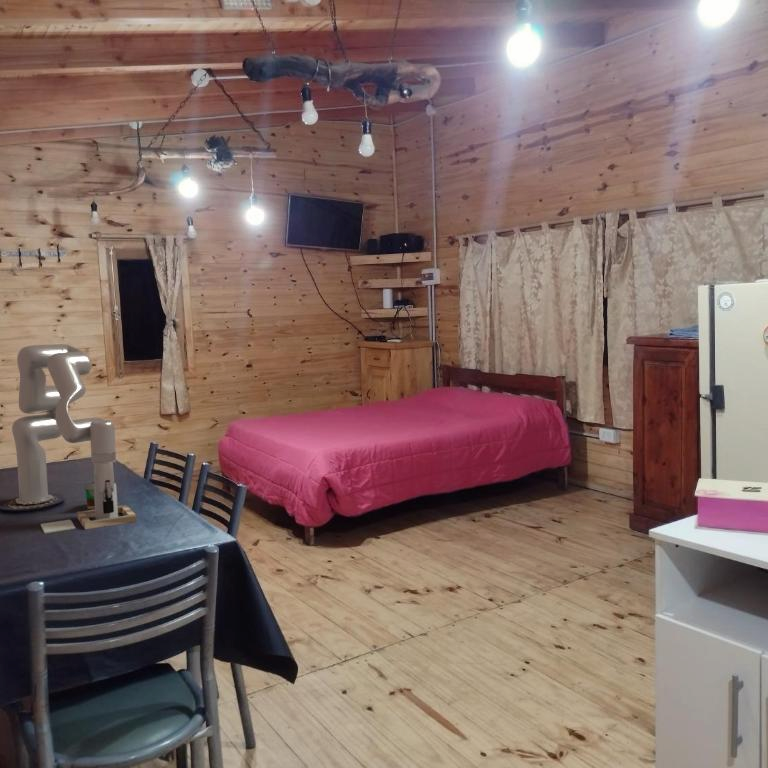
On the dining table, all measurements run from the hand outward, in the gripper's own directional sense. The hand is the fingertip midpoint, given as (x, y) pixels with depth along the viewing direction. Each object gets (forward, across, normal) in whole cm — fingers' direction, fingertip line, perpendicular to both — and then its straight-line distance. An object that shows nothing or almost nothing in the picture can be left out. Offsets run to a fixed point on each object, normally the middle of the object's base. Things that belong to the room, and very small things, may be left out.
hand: (106, 509), depth 240 cm
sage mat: (+3, 0, -15) cm, 15 cm away
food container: (+4, -17, +2) cm, 17 cm away
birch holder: (+3, 0, 0) cm, 3 cm away
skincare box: (+4, 0, 0) cm, 4 cm away
